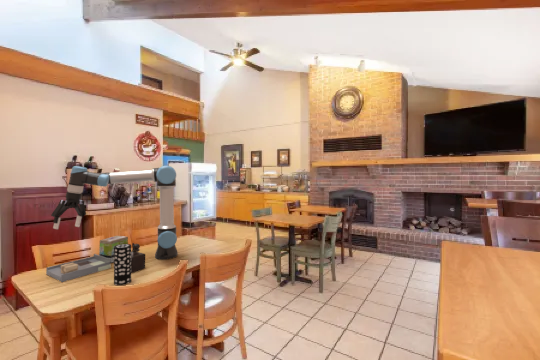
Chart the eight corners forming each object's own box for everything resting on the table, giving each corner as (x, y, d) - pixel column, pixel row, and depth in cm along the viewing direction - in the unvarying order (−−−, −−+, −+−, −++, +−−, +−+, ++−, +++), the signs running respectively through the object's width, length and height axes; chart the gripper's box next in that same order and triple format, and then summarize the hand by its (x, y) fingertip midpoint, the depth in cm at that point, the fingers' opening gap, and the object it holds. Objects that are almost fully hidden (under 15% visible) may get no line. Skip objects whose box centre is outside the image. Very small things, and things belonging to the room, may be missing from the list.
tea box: (111, 263, 175) (111, 241, 175) (98, 262, 177) (98, 240, 177) (128, 256, 190) (128, 235, 190) (116, 255, 192) (116, 235, 192)
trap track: (110, 267, 167) (110, 259, 167) (61, 282, 145) (61, 272, 145) (94, 261, 178) (94, 253, 178) (46, 274, 156) (46, 265, 155)
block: (77, 271, 154) (77, 264, 154) (65, 274, 149) (65, 267, 149) (73, 269, 157) (72, 262, 157) (60, 272, 152) (60, 265, 152)
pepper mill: (118, 270, 163) (118, 241, 162) (135, 265, 173) (135, 237, 172) (135, 275, 156) (135, 245, 155) (151, 269, 165) (151, 240, 165)
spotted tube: (110, 283, 144) (110, 247, 143) (123, 278, 152) (123, 243, 151) (121, 286, 141) (121, 248, 141) (134, 280, 149) (134, 244, 148)
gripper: (87, 191, 171) (80, 224, 170) (48, 190, 147) (39, 228, 146) (97, 193, 170) (90, 227, 169) (59, 192, 145) (50, 231, 144)
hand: (66, 227), depth 157 cm, fingers open, 13 cm apart
